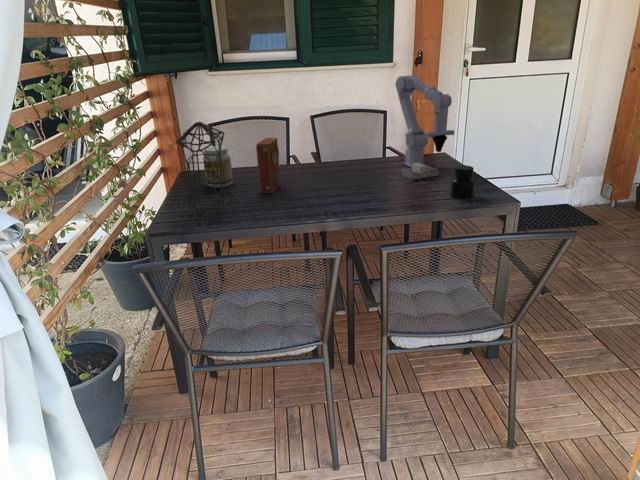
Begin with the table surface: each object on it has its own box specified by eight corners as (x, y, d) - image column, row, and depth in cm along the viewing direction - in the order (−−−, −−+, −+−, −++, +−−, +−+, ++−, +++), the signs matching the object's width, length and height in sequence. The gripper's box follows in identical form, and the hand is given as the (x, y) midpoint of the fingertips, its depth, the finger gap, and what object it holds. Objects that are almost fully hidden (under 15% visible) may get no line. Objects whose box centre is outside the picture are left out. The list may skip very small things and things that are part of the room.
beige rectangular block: (411, 173, 216) (412, 163, 214) (417, 173, 216) (417, 162, 214) (419, 177, 210) (419, 166, 208) (425, 176, 210) (425, 166, 208)
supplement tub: (201, 187, 209) (196, 150, 202) (214, 180, 219) (210, 144, 212) (225, 189, 205) (221, 151, 198) (237, 181, 216) (233, 145, 209)
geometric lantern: (233, 205, 185) (224, 117, 170) (227, 220, 170) (216, 126, 155) (194, 206, 184) (181, 118, 169) (185, 221, 170) (170, 127, 155)
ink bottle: (477, 195, 186) (480, 166, 182) (470, 201, 180) (473, 171, 175) (453, 191, 192) (456, 163, 187) (446, 197, 185) (448, 168, 180)
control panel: (282, 184, 209) (273, 194, 196) (268, 183, 211) (257, 193, 197) (279, 137, 201) (269, 144, 187) (264, 137, 202) (253, 144, 189)
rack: (400, 175, 216) (401, 168, 215) (426, 171, 221) (426, 165, 219) (411, 180, 208) (411, 173, 207) (438, 176, 212) (438, 170, 211)
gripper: (431, 124, 204) (429, 154, 210) (459, 122, 208) (456, 151, 214) (423, 122, 210) (421, 151, 216) (450, 119, 214) (448, 148, 220)
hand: (438, 151), depth 215 cm, fingers closed
